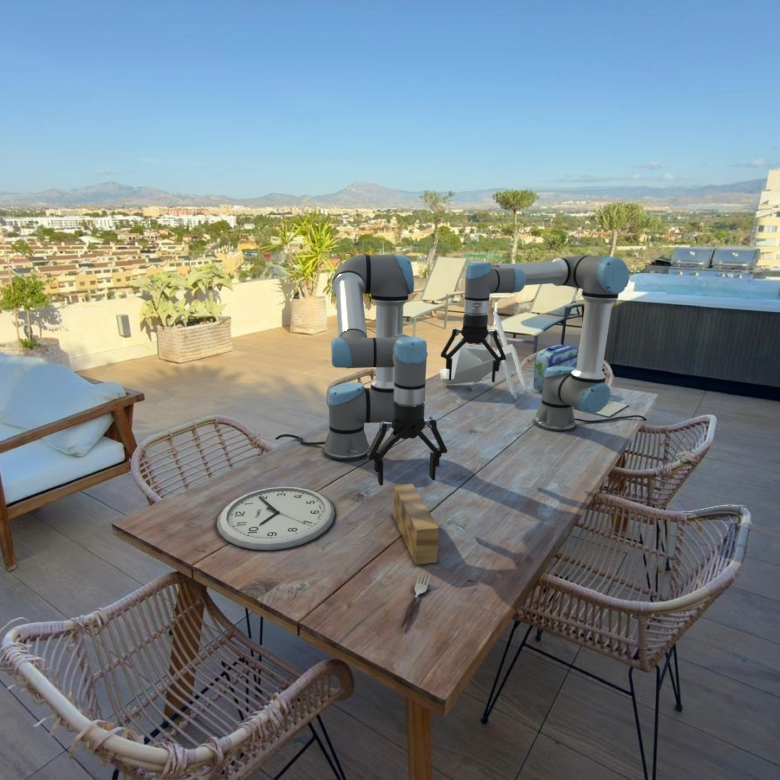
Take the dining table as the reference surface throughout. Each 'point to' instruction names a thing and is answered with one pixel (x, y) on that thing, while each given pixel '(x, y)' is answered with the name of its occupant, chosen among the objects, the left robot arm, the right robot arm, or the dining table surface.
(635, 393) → the dining table surface
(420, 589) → the fork
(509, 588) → the dining table surface
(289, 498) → the wall clock
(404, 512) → the bar
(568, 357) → the lunch box
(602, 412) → the invitation card
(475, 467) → the dining table surface
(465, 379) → the white plastic object
